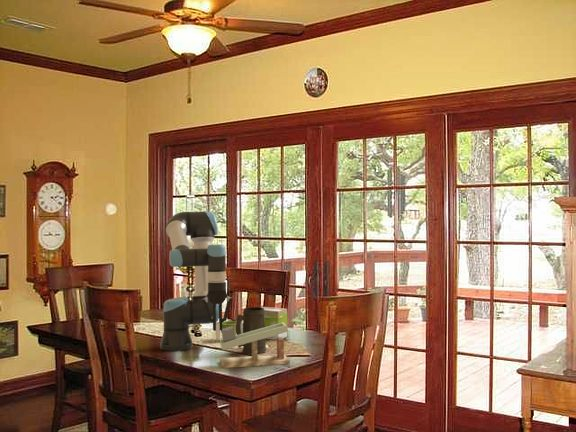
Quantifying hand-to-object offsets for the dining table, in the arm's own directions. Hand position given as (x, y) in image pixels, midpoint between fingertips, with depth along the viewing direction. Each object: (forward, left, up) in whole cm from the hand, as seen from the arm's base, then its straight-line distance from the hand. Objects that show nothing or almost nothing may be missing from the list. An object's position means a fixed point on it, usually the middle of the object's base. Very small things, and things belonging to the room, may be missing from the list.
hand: (217, 338), depth 256 cm
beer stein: (+16, +20, -11) cm, 28 cm away
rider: (+5, 0, -2) cm, 6 cm away
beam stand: (+15, 0, -11) cm, 19 cm away
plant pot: (+9, +51, -11) cm, 53 cm away
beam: (+15, 0, -1) cm, 15 cm away
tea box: (+30, +52, -11) cm, 61 cm away
